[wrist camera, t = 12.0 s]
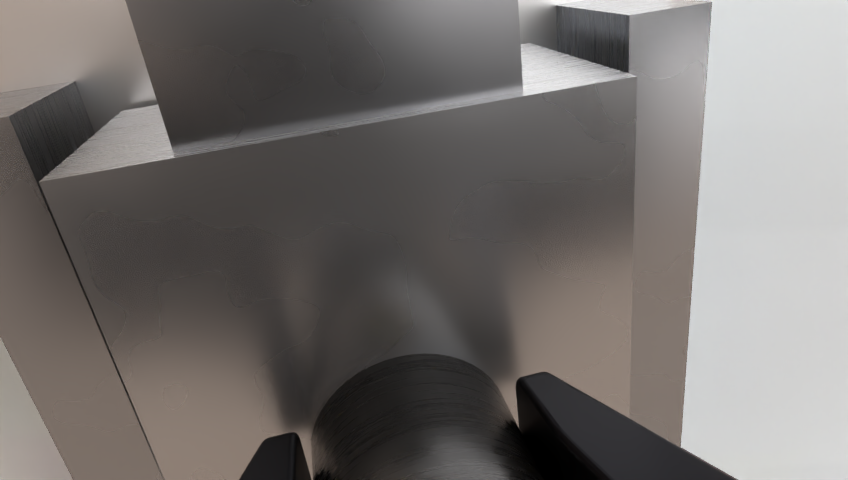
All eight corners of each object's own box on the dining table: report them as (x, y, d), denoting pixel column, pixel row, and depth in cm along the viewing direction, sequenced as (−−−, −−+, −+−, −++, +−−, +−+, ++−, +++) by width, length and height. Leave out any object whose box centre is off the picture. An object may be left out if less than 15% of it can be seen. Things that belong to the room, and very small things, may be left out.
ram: (519, -169, 9) (1392, -687, 2) (544, 338, 13) (863, 797, 6) (45, -113, 8) (-1634, -676, 1) (225, 412, 12) (135, 1059, 5)
